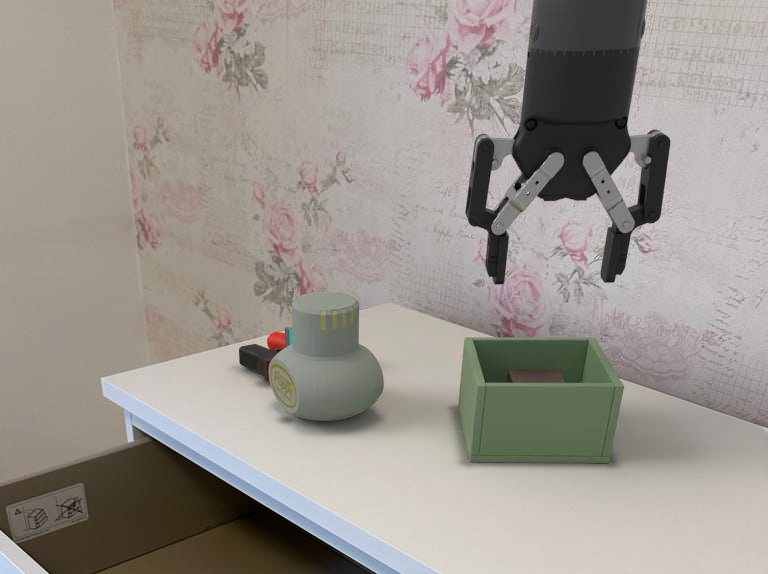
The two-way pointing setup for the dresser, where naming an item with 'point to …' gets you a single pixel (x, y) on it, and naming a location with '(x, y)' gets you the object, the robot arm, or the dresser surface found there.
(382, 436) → the dresser surface
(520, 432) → the green open box
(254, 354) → the toy gun
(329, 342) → the air freshener
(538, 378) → the walnut block
